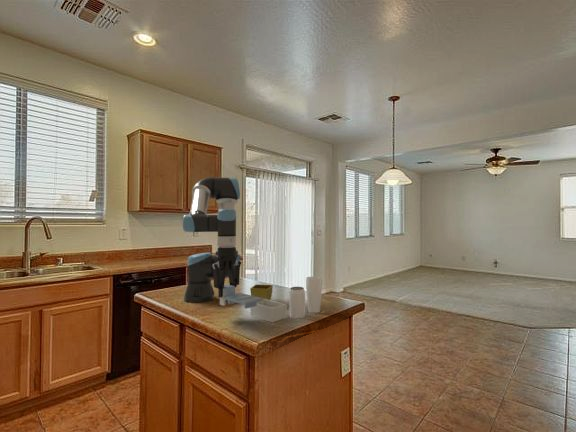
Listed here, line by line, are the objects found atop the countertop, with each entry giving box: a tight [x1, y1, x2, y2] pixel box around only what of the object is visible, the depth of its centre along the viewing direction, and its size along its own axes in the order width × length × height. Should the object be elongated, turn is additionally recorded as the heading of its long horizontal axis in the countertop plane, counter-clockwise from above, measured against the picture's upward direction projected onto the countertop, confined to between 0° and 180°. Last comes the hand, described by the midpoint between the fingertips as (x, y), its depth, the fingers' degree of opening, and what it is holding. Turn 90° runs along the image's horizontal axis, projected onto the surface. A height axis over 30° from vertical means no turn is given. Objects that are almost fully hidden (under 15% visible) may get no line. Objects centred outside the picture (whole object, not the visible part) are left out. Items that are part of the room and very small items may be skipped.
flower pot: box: [249, 283, 274, 300], centre depth 148 cm, size 9×9×9 cm
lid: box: [222, 284, 263, 309], centre depth 123 cm, size 19×9×6 cm, turn 47°
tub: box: [250, 299, 287, 323], centre depth 129 cm, size 13×8×6 cm, turn 47°
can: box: [289, 286, 306, 319], centre depth 130 cm, size 6×6×12 cm
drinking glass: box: [305, 276, 323, 314], centre depth 137 cm, size 7×7×15 cm
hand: (226, 303), depth 128 cm, fingers closed on lid, 3 cm apart
